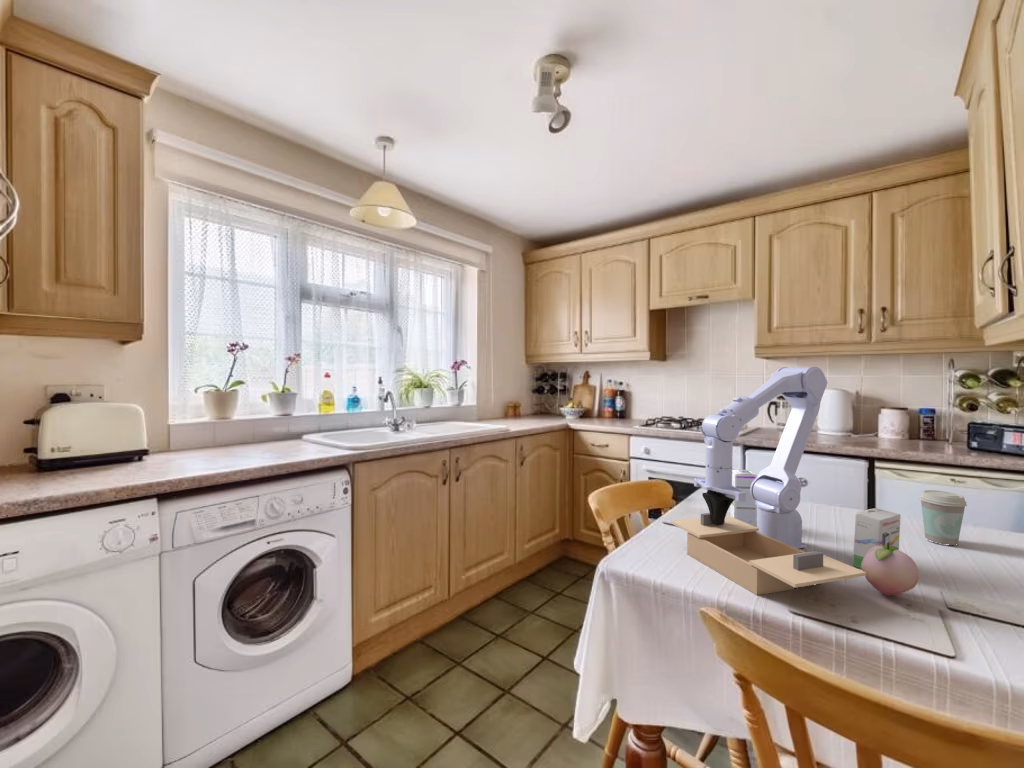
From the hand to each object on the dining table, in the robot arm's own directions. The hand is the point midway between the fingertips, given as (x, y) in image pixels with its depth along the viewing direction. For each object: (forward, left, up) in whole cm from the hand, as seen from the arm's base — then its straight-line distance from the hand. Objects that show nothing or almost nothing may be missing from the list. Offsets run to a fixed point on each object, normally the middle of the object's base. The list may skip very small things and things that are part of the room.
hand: (717, 524), depth 106 cm
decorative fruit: (-16, +26, -7) cm, 32 cm away
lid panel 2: (0, +23, -1) cm, 23 cm away
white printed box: (-21, -15, -7) cm, 26 cm away
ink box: (-27, +16, -7) cm, 32 cm away
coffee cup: (-58, +10, -7) cm, 59 cm away
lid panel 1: (0, -1, -1) cm, 2 cm away
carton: (0, +9, -6) cm, 11 cm away
